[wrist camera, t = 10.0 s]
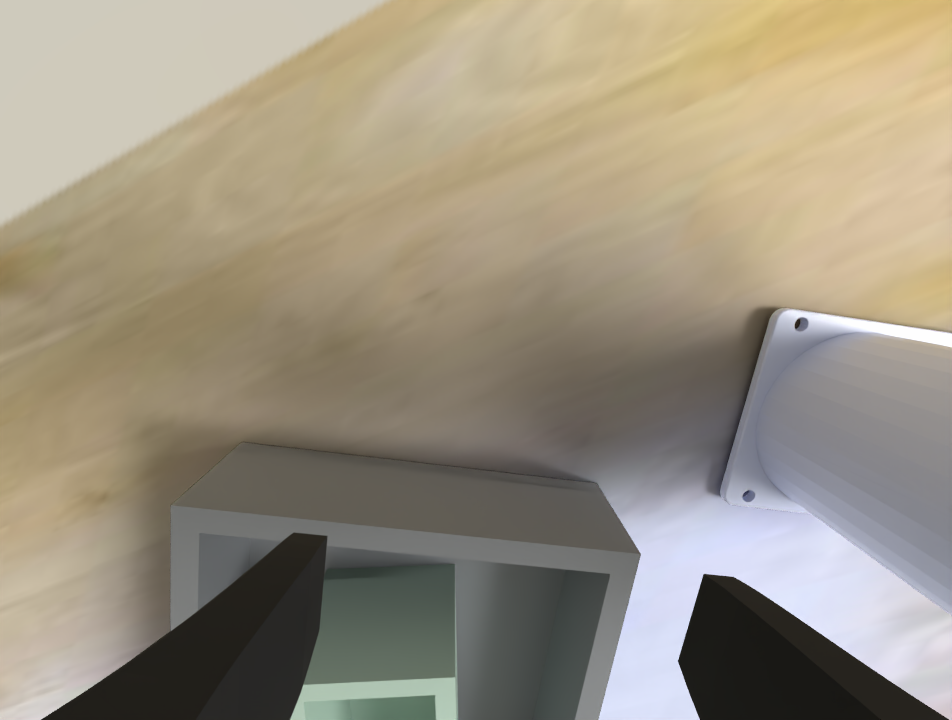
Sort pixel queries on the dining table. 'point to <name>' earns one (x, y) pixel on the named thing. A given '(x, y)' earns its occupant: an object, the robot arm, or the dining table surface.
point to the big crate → (435, 560)
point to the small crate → (384, 646)
